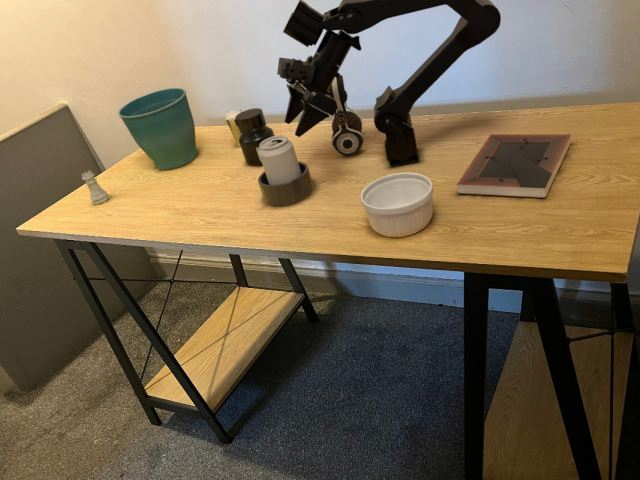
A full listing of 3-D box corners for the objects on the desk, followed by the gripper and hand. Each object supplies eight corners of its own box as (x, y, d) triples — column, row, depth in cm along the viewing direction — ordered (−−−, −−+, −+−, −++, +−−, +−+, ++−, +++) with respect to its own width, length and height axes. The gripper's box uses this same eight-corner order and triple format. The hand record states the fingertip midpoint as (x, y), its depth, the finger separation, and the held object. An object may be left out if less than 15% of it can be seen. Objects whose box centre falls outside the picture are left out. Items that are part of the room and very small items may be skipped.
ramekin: (452, 218, 105) (447, 184, 101) (394, 250, 101) (387, 217, 97) (409, 196, 115) (403, 165, 111) (354, 225, 111) (346, 194, 107)
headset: (335, 136, 149) (315, 57, 137) (364, 129, 148) (347, 49, 136) (335, 164, 135) (313, 79, 123) (367, 157, 134) (348, 71, 122)
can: (312, 183, 128) (297, 133, 121) (292, 201, 124) (276, 149, 116) (286, 181, 132) (270, 132, 125) (266, 198, 127) (248, 148, 120)
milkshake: (250, 146, 156) (238, 110, 151) (232, 148, 158) (219, 113, 152) (255, 138, 160) (243, 104, 154) (238, 141, 161) (225, 106, 156)
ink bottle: (270, 167, 142) (255, 121, 135) (240, 168, 146) (223, 123, 139) (286, 149, 149) (272, 104, 142) (257, 151, 152) (242, 107, 145)
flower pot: (187, 175, 150) (160, 112, 140) (133, 178, 157) (103, 118, 147) (220, 144, 163) (197, 84, 153) (168, 148, 170) (144, 91, 160)
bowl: (316, 177, 132) (310, 157, 129) (310, 201, 123) (304, 180, 120) (269, 186, 134) (262, 166, 131) (261, 210, 125) (253, 190, 122)
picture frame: (545, 199, 103) (570, 144, 117) (545, 187, 102) (571, 133, 116) (457, 194, 111) (491, 144, 125) (456, 183, 110) (490, 133, 124)
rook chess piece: (94, 207, 147) (78, 179, 142) (92, 201, 150) (76, 173, 146) (111, 200, 148) (96, 172, 143) (108, 194, 151) (94, 166, 147)
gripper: (282, 31, 119) (249, 100, 124) (305, 48, 104) (266, 125, 109) (327, 58, 125) (293, 123, 130) (355, 77, 110) (315, 150, 115)
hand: (291, 129), depth 121 cm, fingers open, 9 cm apart
